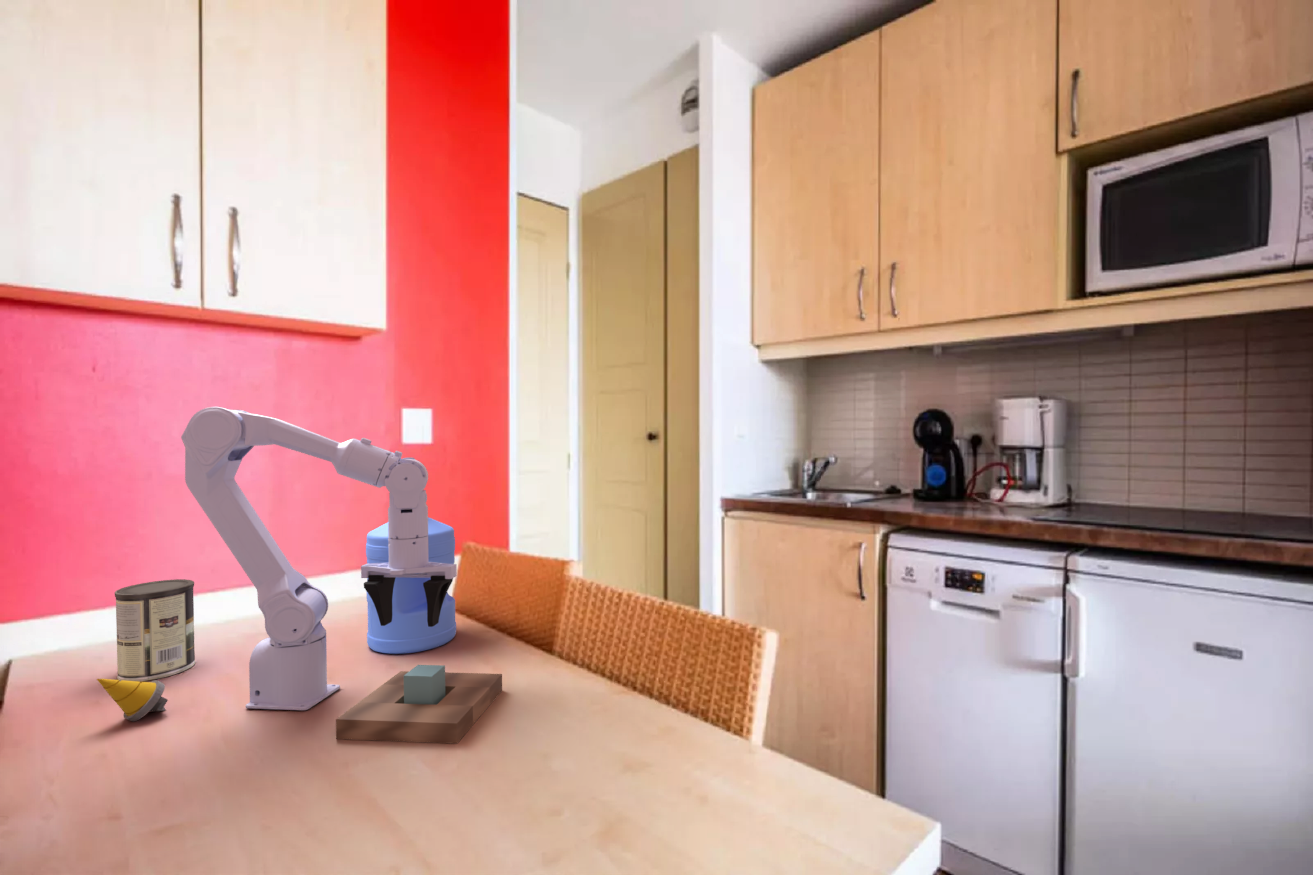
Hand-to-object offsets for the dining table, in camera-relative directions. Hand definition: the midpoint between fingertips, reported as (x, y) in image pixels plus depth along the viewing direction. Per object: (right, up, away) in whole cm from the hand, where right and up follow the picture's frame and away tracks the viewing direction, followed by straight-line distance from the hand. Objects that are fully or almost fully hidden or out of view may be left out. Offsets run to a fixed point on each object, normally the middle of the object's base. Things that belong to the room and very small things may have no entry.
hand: (409, 624), depth 95 cm
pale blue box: (+6, -9, -10) cm, 15 cm away
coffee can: (-45, -10, +8) cm, 47 cm away
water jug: (-8, -10, +21) cm, 24 cm away
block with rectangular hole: (+6, -9, -10) cm, 15 cm away
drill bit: (-33, -10, -11) cm, 36 cm away
